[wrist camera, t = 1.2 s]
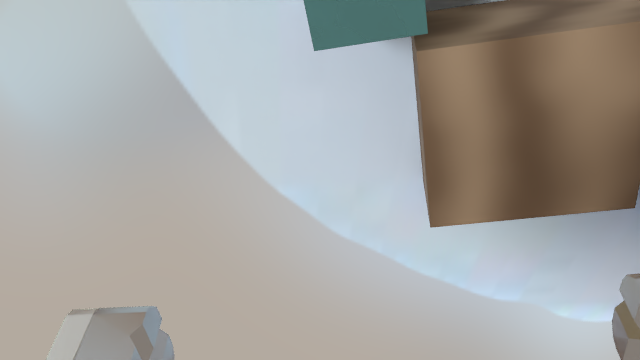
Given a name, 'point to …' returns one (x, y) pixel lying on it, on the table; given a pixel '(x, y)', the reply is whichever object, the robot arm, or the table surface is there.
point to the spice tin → (363, 21)
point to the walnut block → (529, 109)
